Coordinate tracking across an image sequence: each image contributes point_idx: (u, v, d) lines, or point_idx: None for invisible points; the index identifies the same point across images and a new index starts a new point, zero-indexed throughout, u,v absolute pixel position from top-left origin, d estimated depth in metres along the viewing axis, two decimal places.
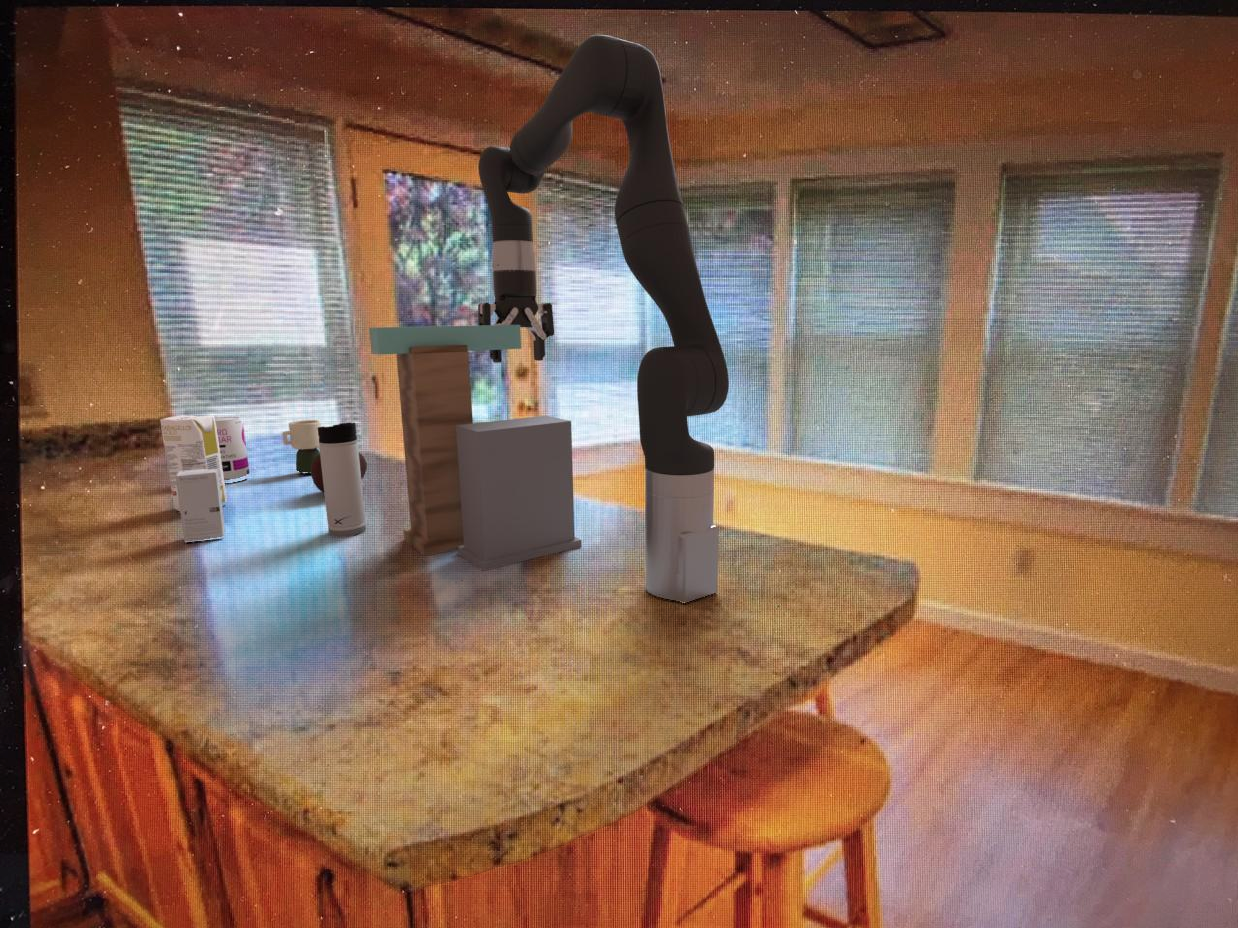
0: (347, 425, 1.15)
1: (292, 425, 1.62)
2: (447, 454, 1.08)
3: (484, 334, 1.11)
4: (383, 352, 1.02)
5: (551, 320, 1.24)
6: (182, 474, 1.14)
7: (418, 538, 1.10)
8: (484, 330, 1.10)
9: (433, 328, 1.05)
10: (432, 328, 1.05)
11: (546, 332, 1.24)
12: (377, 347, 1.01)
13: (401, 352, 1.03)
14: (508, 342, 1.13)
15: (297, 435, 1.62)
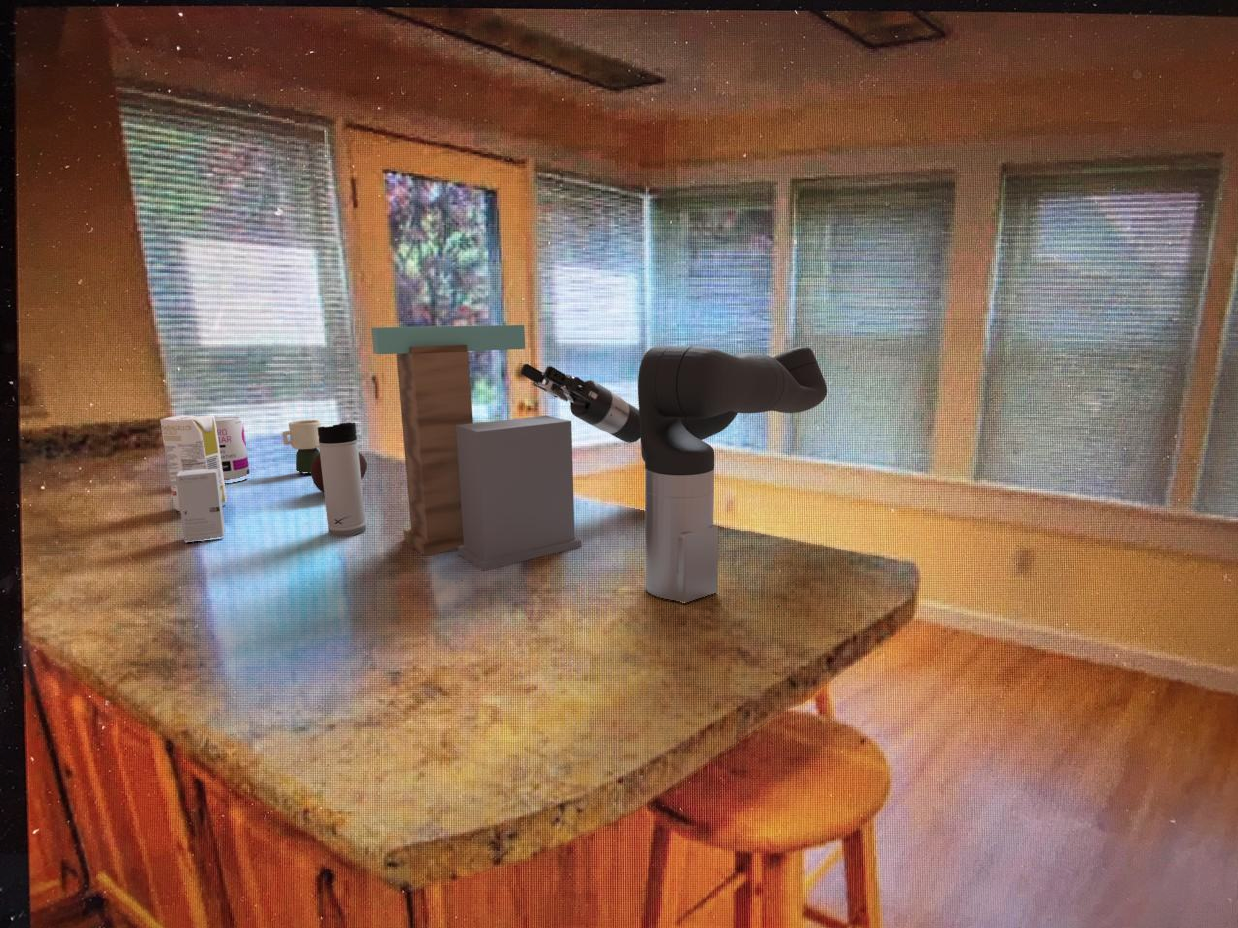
0: (347, 425, 1.15)
1: (292, 425, 1.62)
2: (447, 454, 1.08)
3: (487, 334, 1.10)
4: (383, 352, 1.02)
5: (544, 390, 1.29)
6: (182, 474, 1.14)
7: (418, 538, 1.10)
8: (487, 329, 1.10)
9: (434, 328, 1.05)
10: (433, 328, 1.05)
11: None
12: (377, 347, 1.02)
13: (401, 352, 1.04)
14: (511, 342, 1.12)
15: (297, 435, 1.62)
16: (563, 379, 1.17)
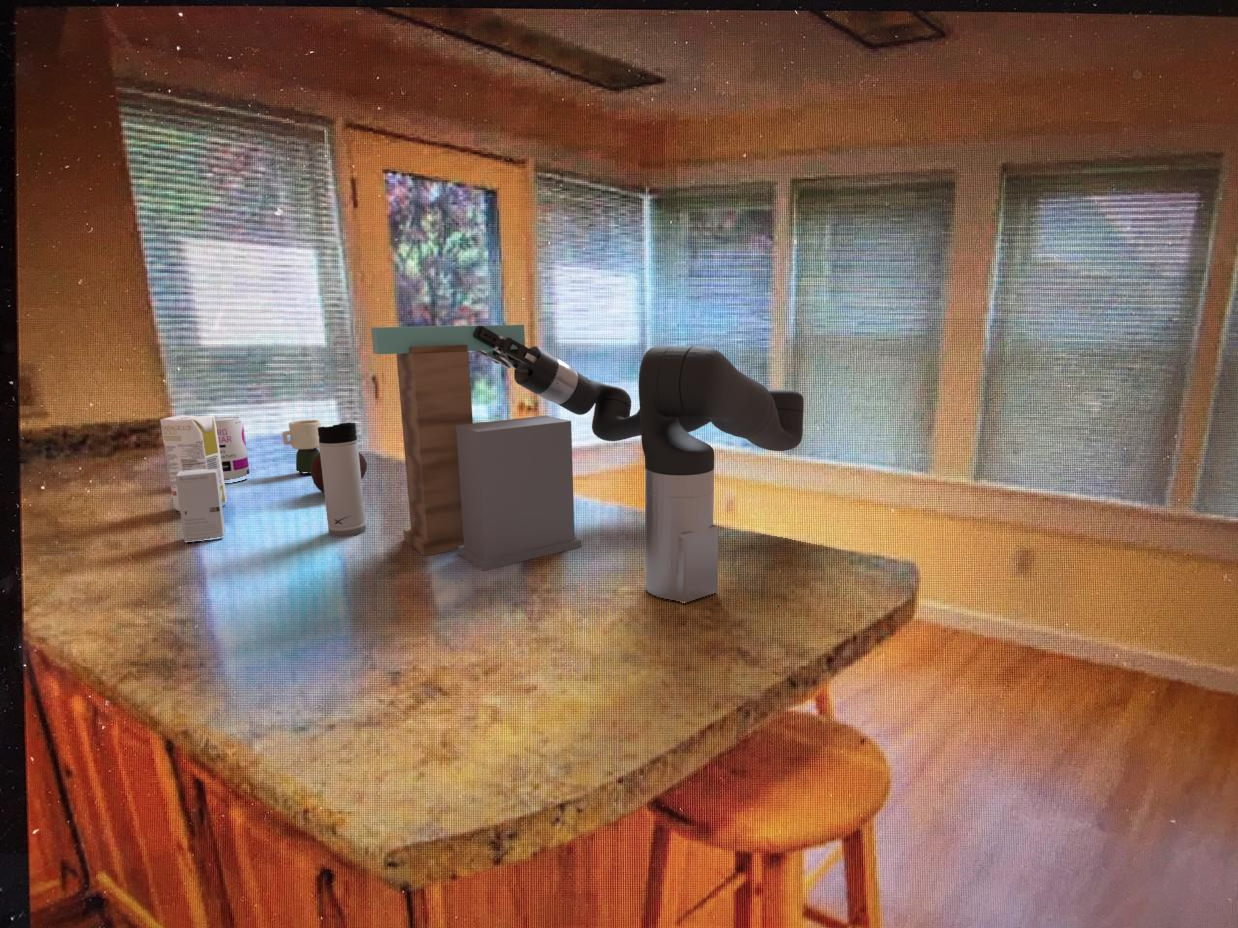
0: (347, 425, 1.15)
1: (292, 425, 1.62)
2: (447, 454, 1.08)
3: None
4: (383, 352, 1.02)
5: (485, 355, 1.20)
6: (182, 474, 1.14)
7: (418, 538, 1.10)
8: None
9: (434, 328, 1.05)
10: (433, 328, 1.05)
11: None
12: (377, 347, 1.02)
13: (401, 352, 1.04)
14: None
15: (297, 435, 1.62)
16: (495, 340, 1.10)
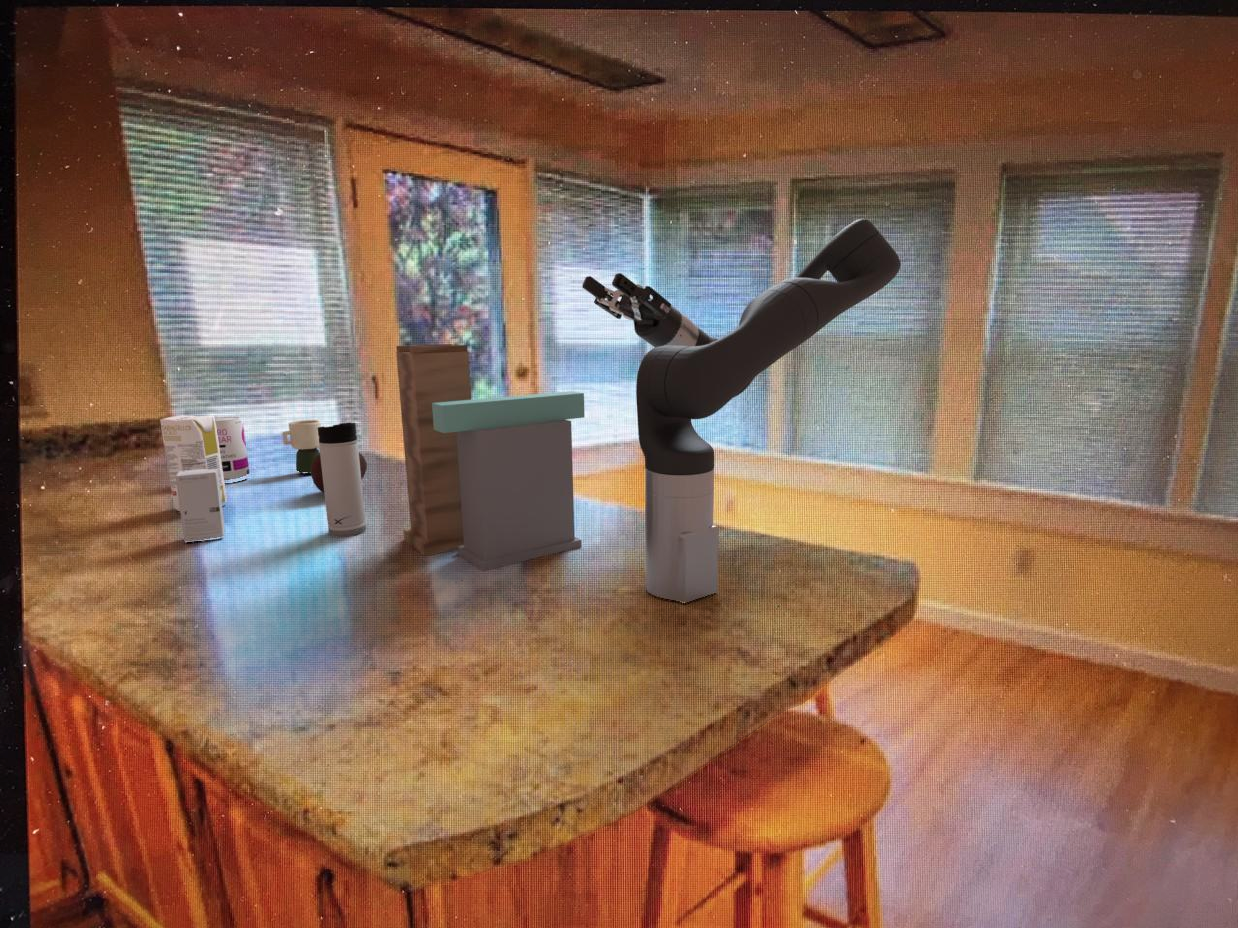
0: (347, 425, 1.15)
1: (292, 425, 1.62)
2: (447, 454, 1.08)
3: (548, 405, 1.06)
4: (448, 430, 0.97)
5: (605, 310, 1.17)
6: (182, 474, 1.14)
7: (418, 538, 1.10)
8: (548, 400, 1.06)
9: (498, 402, 1.01)
10: (497, 402, 1.01)
11: None
12: (441, 425, 0.97)
13: (465, 429, 0.99)
14: (571, 411, 1.09)
15: (297, 435, 1.62)
16: (633, 289, 1.06)
